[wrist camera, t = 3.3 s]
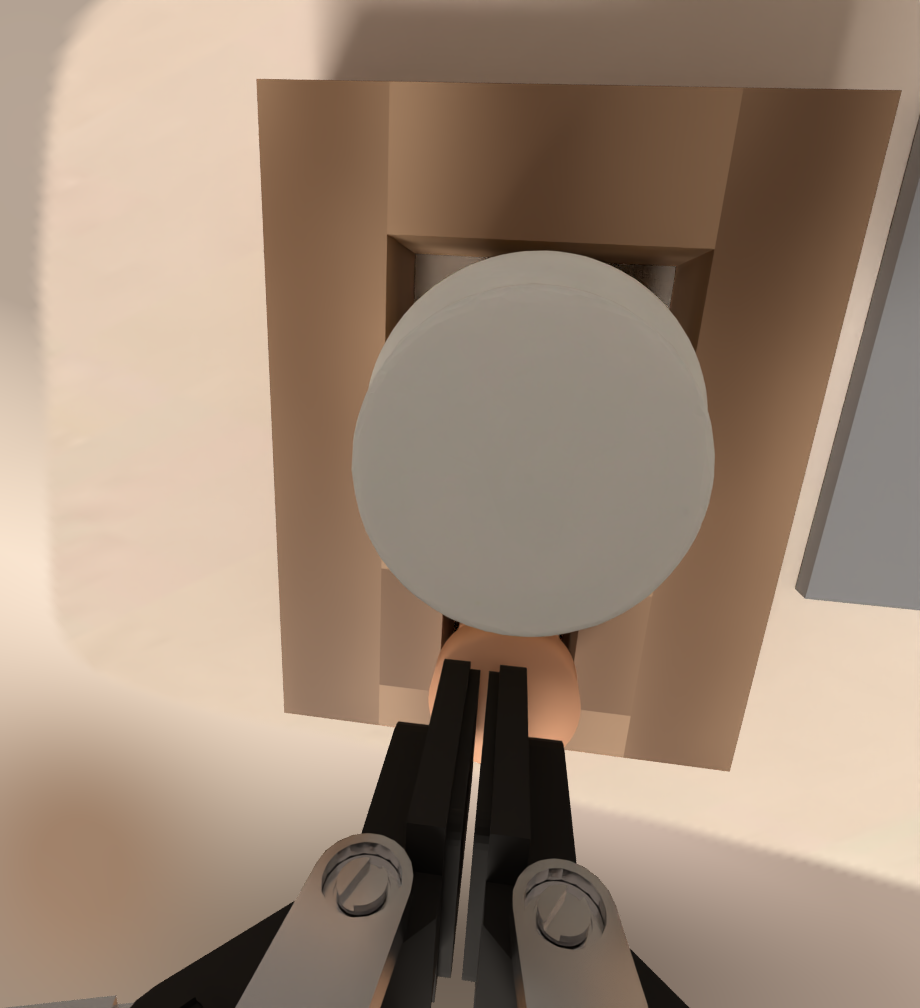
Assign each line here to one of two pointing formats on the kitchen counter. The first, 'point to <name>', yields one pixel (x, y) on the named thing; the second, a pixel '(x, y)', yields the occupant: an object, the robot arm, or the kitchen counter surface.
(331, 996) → the robot arm
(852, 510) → the pad
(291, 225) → the housing
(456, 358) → the supplement bottle
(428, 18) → the kitchen counter surface
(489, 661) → the peach rounded piece
